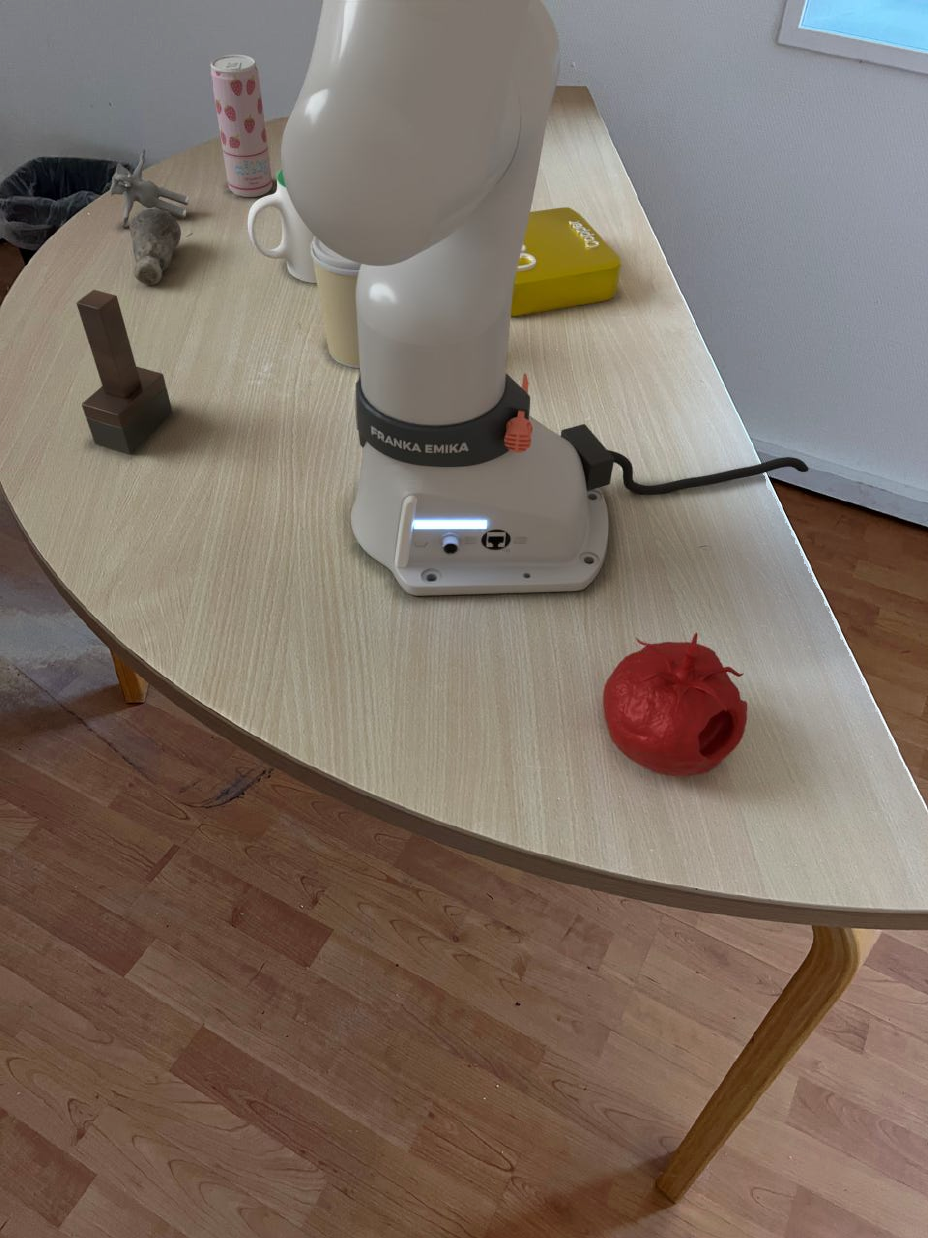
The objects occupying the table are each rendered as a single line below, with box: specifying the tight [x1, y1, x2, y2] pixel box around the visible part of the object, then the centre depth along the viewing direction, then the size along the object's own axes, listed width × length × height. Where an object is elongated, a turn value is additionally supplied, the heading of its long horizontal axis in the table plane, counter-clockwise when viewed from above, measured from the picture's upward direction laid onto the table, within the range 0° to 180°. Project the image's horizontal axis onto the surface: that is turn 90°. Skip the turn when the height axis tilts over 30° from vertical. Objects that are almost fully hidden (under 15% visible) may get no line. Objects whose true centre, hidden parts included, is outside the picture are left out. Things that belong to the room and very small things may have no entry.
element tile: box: [511, 206, 622, 317], centre depth 107 cm, size 15×15×5 cm
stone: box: [128, 208, 182, 286], centre depth 107 cm, size 10×5×8 cm
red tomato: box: [602, 632, 748, 777], centre depth 64 cm, size 10×10×9 cm
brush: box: [75, 289, 174, 455], centre depth 83 cm, size 7×4×14 cm, turn 158°
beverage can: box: [210, 54, 273, 198], centre depth 116 cm, size 6×6×15 cm
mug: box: [247, 168, 317, 284], centre depth 105 cm, size 12×8×10 cm
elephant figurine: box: [109, 148, 190, 228], centre depth 114 cm, size 10×6×9 cm
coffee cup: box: [311, 236, 361, 370], centre depth 94 cm, size 9×9×12 cm
